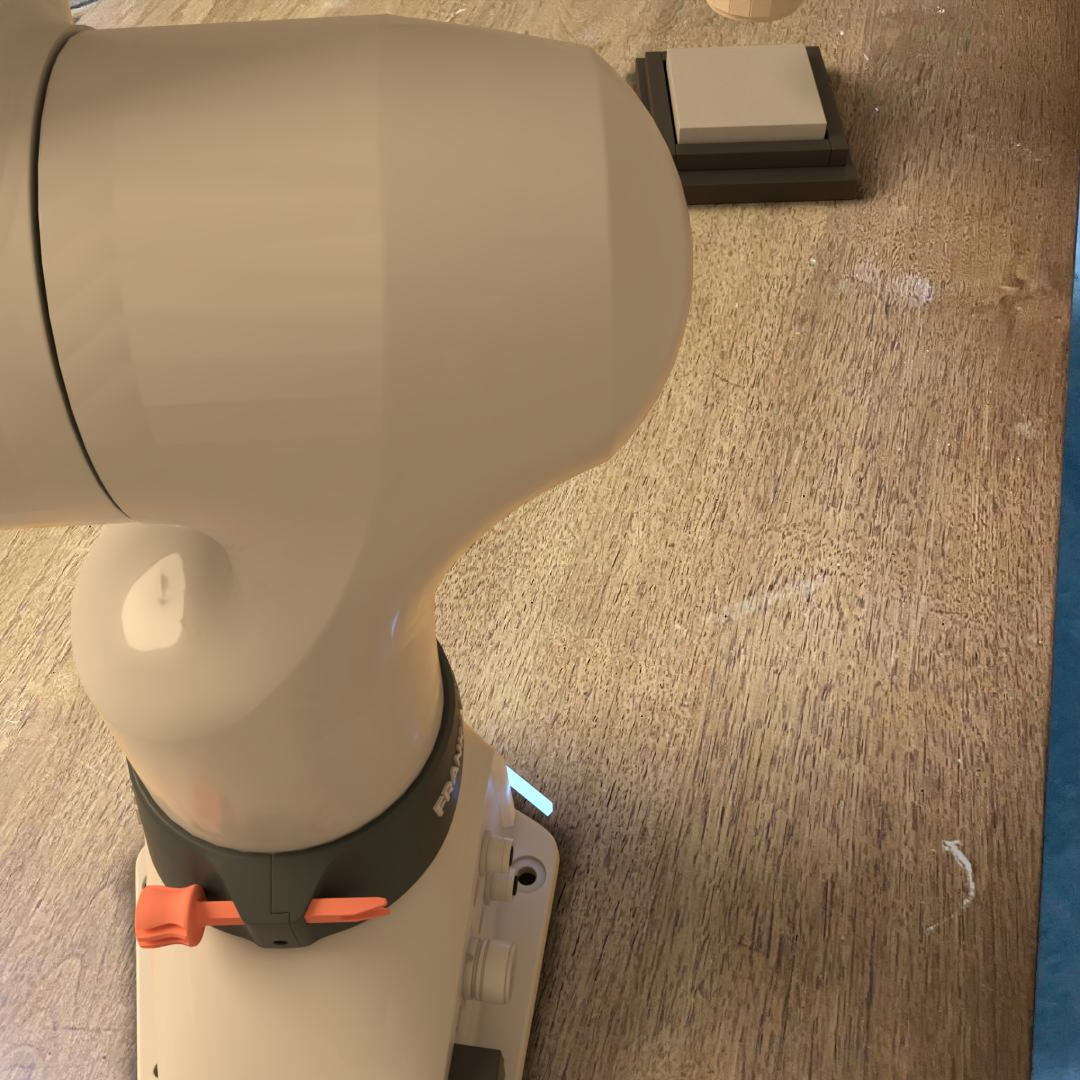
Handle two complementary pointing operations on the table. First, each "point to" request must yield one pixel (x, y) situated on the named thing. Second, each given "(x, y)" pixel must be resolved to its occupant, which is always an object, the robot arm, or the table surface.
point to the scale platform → (744, 94)
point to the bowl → (754, 9)
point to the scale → (753, 150)
